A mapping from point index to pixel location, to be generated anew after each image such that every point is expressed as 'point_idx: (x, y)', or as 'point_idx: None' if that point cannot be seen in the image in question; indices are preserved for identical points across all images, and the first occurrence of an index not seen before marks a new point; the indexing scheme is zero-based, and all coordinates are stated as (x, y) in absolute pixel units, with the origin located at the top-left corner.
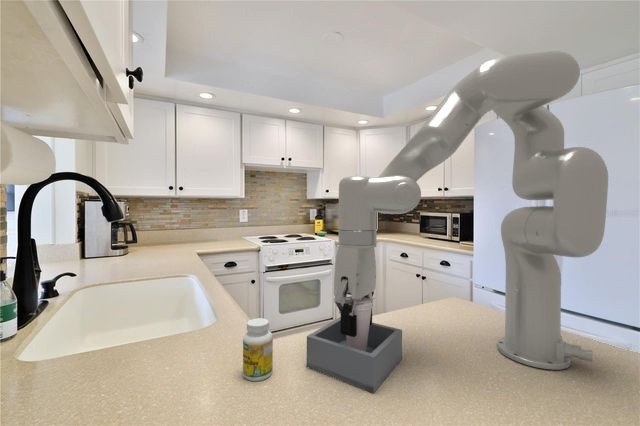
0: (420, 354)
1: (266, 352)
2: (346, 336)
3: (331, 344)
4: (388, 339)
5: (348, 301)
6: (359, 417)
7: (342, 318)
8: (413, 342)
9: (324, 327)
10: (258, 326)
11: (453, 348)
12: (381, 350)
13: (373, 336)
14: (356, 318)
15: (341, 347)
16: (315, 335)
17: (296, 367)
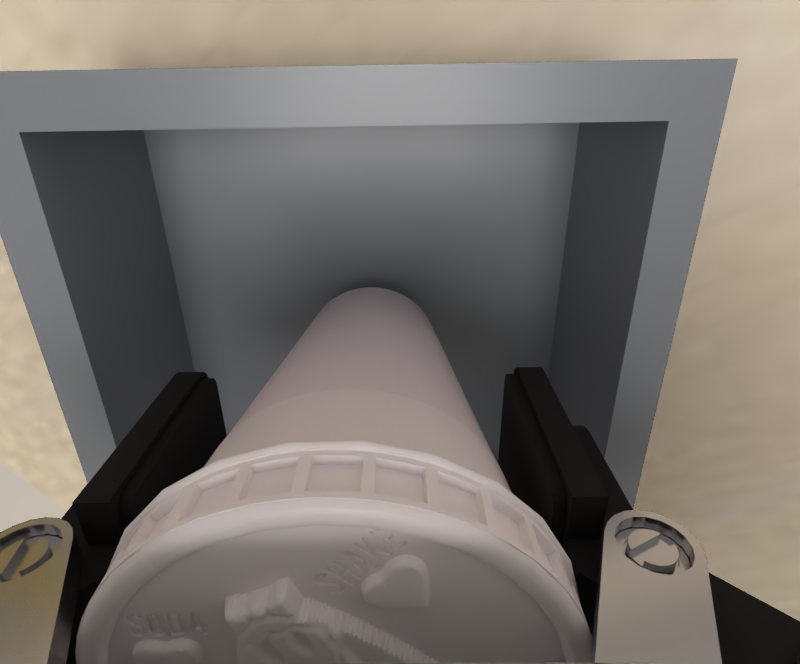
0: (649, 511)
1: None
2: (301, 337)
3: (46, 353)
4: None
5: (208, 631)
6: (49, 484)
7: (68, 511)
8: (788, 453)
9: (258, 94)
10: None
11: (783, 595)
12: None
13: (576, 382)
14: None
15: (72, 431)
16: (51, 130)
17: (58, 15)
